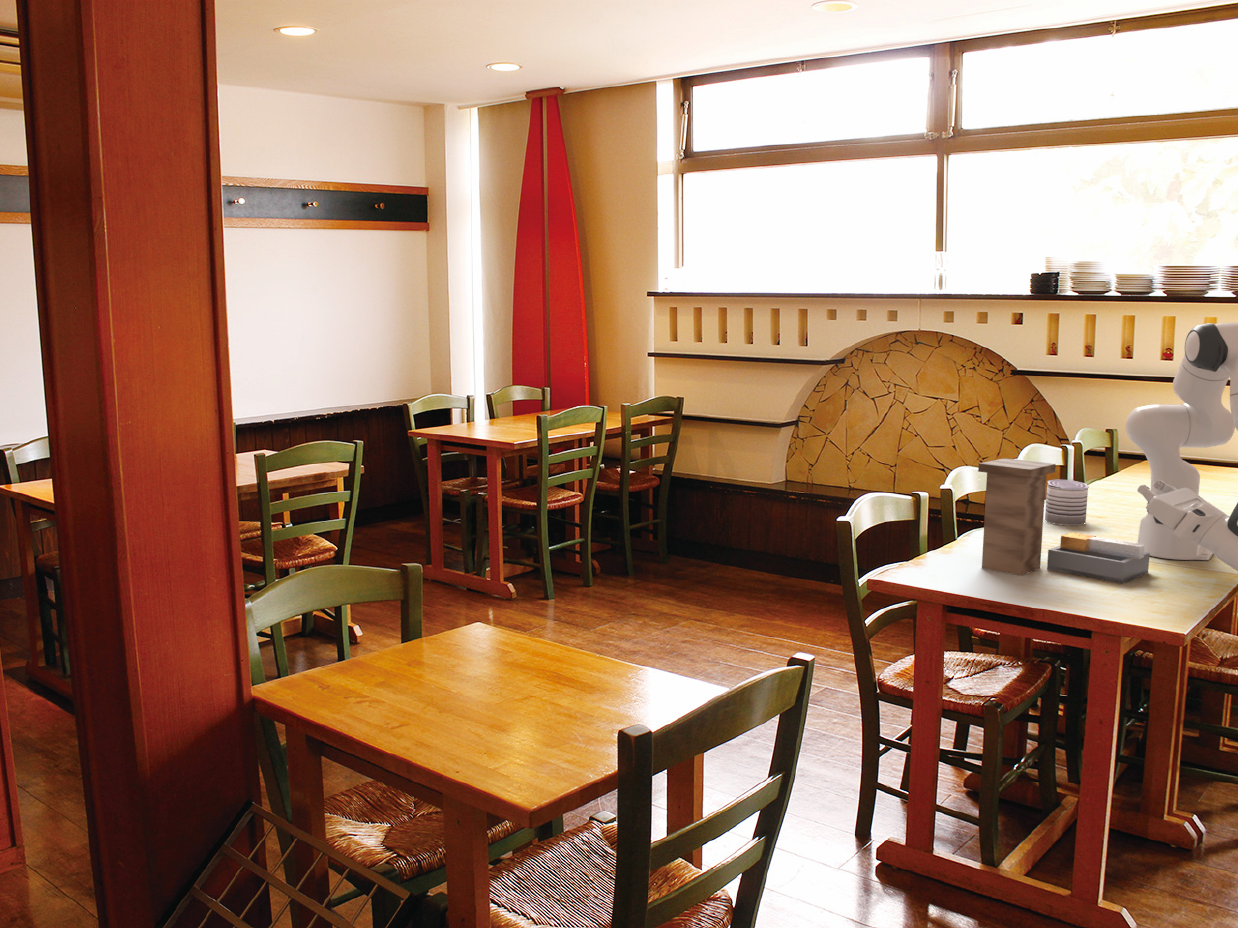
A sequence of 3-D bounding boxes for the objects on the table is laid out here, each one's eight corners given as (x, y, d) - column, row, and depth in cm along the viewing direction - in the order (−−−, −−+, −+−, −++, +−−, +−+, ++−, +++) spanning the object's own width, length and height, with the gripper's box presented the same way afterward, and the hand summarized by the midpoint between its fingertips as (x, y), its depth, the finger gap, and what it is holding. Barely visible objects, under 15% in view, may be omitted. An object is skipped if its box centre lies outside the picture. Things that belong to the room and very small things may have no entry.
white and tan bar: (1060, 547, 259) (1061, 535, 259) (1070, 543, 263) (1071, 532, 263) (1136, 560, 246) (1137, 547, 246) (1146, 556, 251) (1147, 543, 250)
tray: (1074, 559, 268) (1075, 540, 267) (1148, 572, 255) (1149, 552, 254) (1047, 569, 258) (1048, 549, 257) (1122, 583, 245) (1124, 562, 244)
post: (998, 559, 268) (1004, 458, 264) (1048, 568, 259) (1055, 464, 255) (973, 567, 259) (978, 463, 256) (1023, 577, 250) (1030, 469, 246)
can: (1080, 518, 320) (1083, 479, 318) (1090, 526, 309) (1093, 486, 307) (1040, 517, 322) (1043, 478, 320) (1049, 525, 311) (1051, 485, 309)
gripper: (1226, 505, 243) (1173, 469, 251) (1193, 516, 230) (1138, 478, 237) (1209, 526, 247) (1157, 490, 254) (1175, 538, 233) (1122, 500, 241)
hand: (1148, 485), depth 246 cm, fingers open, 8 cm apart
